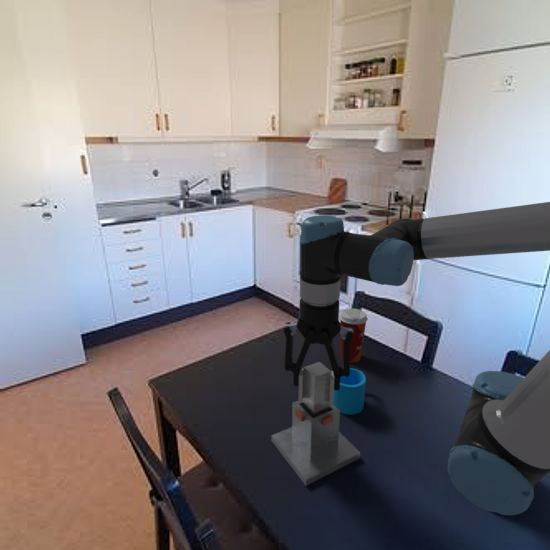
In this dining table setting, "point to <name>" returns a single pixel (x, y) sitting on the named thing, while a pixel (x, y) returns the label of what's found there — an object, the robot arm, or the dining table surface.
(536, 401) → the robot arm
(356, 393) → the mug
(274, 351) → the dining table surface
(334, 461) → the stand base
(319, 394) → the column
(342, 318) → the coffee cup
